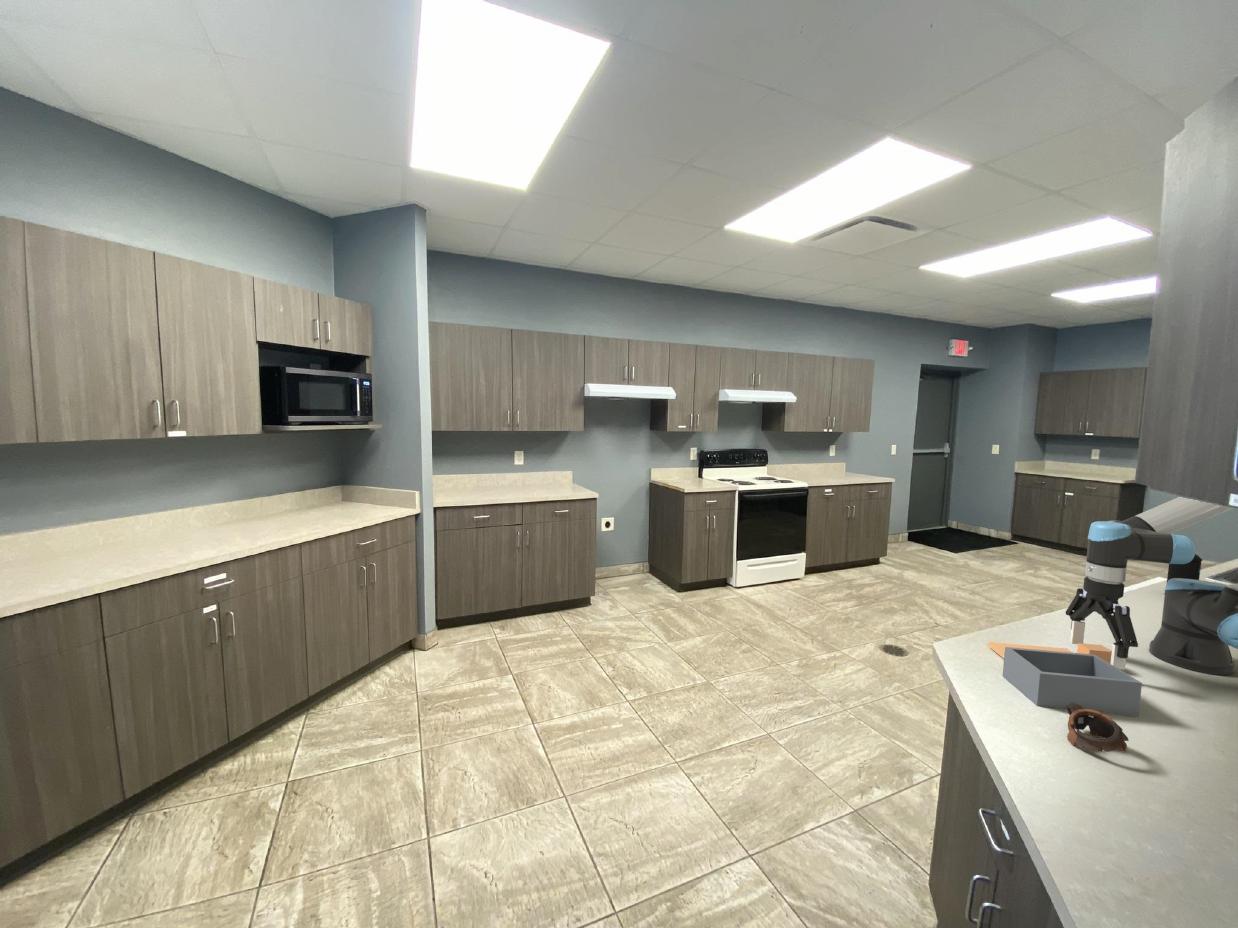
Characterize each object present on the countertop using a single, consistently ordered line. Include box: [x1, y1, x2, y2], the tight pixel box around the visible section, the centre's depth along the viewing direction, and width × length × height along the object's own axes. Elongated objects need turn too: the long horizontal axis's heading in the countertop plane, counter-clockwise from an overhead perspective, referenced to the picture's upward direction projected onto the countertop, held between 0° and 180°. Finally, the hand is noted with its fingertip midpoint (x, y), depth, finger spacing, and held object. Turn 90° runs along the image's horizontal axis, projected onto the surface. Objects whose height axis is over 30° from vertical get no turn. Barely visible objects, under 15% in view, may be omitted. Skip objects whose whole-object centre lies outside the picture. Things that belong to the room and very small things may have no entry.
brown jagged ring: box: [1066, 702, 1129, 753], centre depth 97 cm, size 12×10×8 cm
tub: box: [1002, 647, 1143, 717], centre depth 113 cm, size 20×13×8 cm, turn 79°
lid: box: [987, 641, 1112, 664], centre depth 129 cm, size 25×13×6 cm, turn 79°
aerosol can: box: [1163, 553, 1203, 595], centre depth 178 cm, size 8×8×20 cm
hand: (1095, 655), depth 127 cm, fingers open, 13 cm apart
